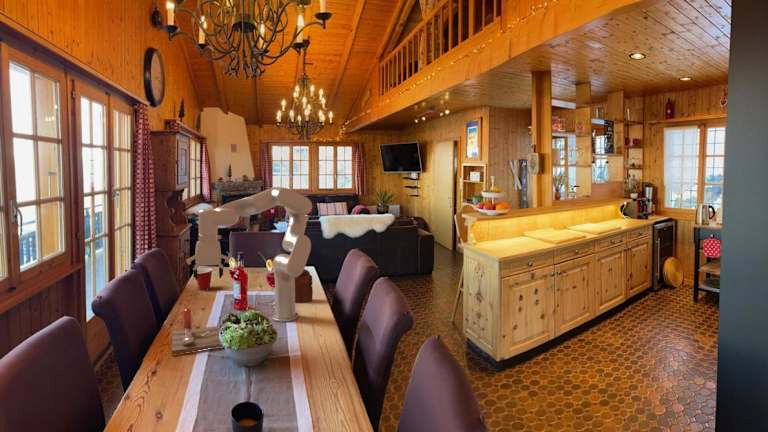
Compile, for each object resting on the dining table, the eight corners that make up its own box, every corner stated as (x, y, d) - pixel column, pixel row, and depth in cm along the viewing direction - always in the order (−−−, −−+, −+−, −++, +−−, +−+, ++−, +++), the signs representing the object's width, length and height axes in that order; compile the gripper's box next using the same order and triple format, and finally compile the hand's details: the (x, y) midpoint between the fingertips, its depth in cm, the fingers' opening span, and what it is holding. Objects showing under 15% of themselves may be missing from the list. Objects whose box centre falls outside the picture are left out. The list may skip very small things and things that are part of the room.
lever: (182, 331, 195) (181, 309, 194) (192, 330, 196) (191, 307, 195) (183, 346, 179) (182, 321, 178) (194, 344, 181) (193, 320, 180)
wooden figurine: (311, 298, 253) (311, 267, 251) (312, 302, 247) (312, 269, 245) (290, 300, 250) (289, 268, 248) (291, 303, 244) (290, 271, 242)
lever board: (172, 336, 196) (172, 331, 195) (219, 330, 204) (219, 325, 203) (172, 355, 176) (171, 350, 176) (223, 348, 184) (223, 342, 183)
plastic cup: (193, 288, 273) (192, 268, 271) (212, 286, 277) (212, 267, 276) (194, 292, 263) (193, 272, 262) (214, 290, 268) (213, 270, 266)
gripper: (228, 236, 198) (228, 275, 199) (185, 238, 190) (185, 277, 192) (230, 239, 191) (230, 278, 193) (186, 240, 184) (186, 281, 185)
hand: (208, 278), depth 192 cm, fingers open, 9 cm apart
